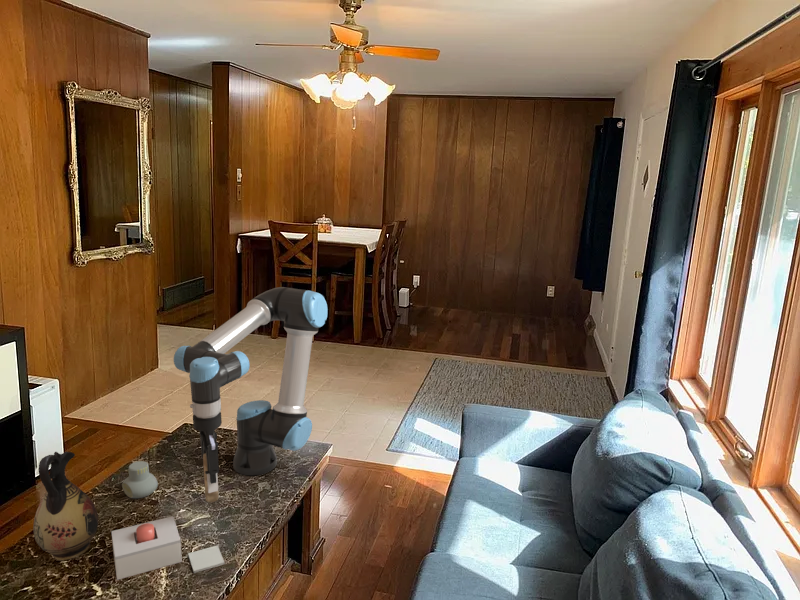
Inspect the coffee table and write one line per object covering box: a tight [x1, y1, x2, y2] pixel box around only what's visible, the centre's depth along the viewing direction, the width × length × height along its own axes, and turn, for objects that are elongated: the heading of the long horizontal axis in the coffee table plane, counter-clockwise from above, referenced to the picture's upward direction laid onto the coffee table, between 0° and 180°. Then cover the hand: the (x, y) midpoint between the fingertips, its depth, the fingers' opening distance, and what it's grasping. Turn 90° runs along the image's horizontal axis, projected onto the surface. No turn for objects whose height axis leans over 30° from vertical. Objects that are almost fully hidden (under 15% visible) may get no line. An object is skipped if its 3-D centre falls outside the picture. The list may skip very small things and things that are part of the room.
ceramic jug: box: [33, 451, 99, 562], centre depth 161 cm, size 17×15×30 cm
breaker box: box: [111, 516, 183, 581], centre depth 163 cm, size 16×12×7 cm
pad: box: [187, 544, 225, 574], centre depth 164 cm, size 8×8×1 cm
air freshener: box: [121, 460, 159, 499], centre depth 192 cm, size 11×8×10 cm
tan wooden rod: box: [202, 453, 220, 503], centre depth 171 cm, size 4×4×14 cm
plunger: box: [136, 522, 155, 544], centre depth 162 cm, size 4×4×5 cm
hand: (211, 487), depth 172 cm, fingers closed on tan wooden rod, 3 cm apart
